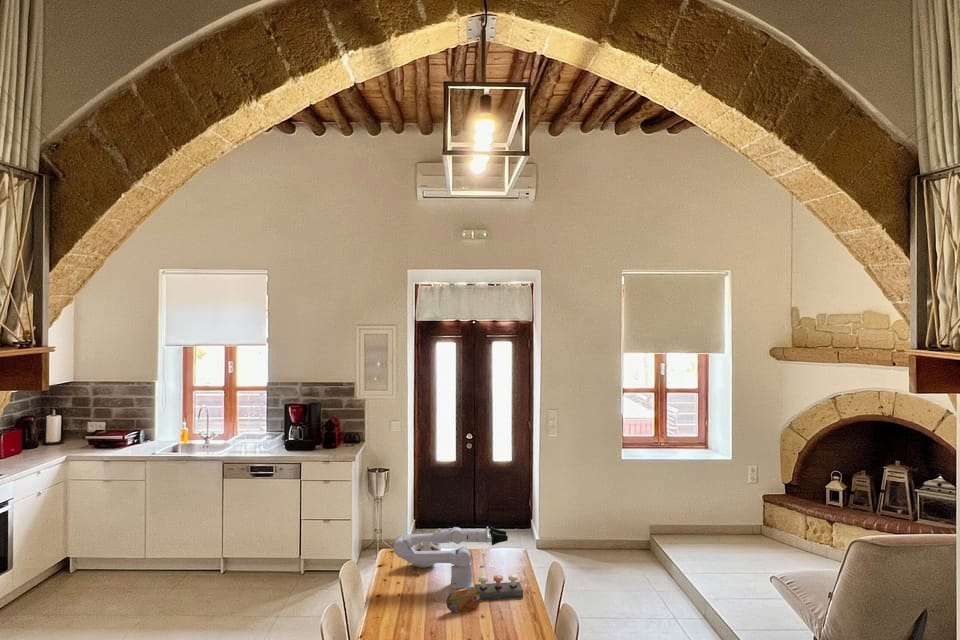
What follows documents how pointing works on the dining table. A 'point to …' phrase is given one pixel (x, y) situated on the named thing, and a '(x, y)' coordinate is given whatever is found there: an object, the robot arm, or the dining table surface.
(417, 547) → the decorative object
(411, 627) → the dining table surface
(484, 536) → the robot arm
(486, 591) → the knob plate
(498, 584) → the middle knob
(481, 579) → the knob
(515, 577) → the knob
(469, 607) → the multicolored oval slab
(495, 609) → the dining table surface
